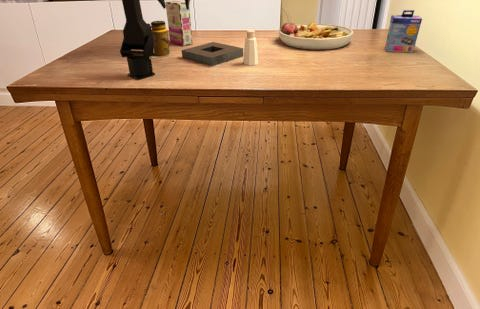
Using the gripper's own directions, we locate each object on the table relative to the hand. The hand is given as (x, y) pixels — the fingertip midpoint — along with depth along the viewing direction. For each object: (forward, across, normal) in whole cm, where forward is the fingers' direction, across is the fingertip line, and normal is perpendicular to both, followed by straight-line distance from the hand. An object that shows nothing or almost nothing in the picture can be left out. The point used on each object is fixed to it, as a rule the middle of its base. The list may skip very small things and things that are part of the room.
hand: (176, 8), depth 128 cm
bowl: (+19, -54, -12) cm, 58 cm away
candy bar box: (+18, +3, -4) cm, 18 cm away
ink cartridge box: (+14, -85, -2) cm, 86 cm away
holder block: (+10, -17, +15) cm, 25 cm away
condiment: (+12, +5, +14) cm, 19 cm away
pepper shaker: (+8, -32, +20) cm, 39 cm away
